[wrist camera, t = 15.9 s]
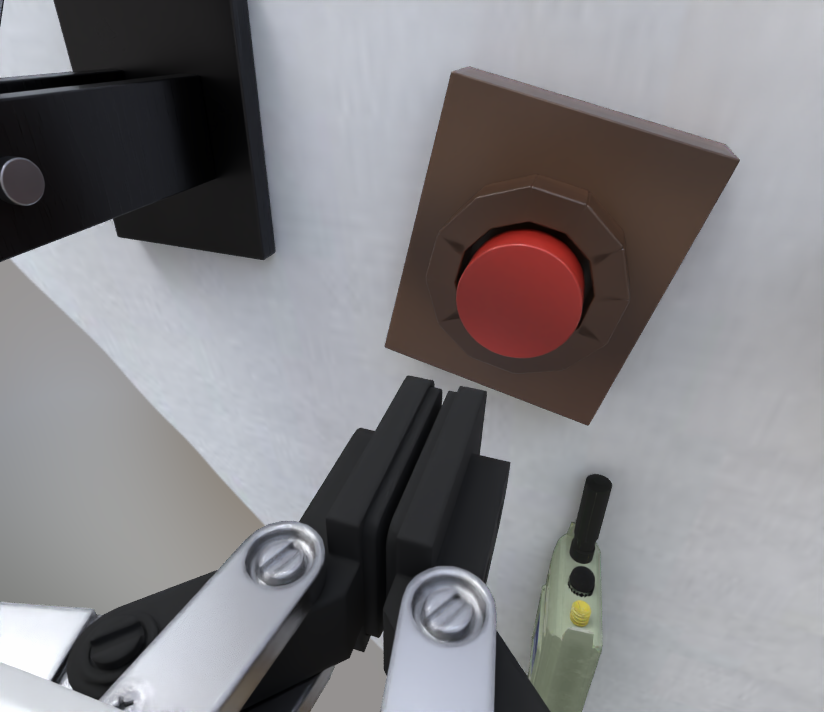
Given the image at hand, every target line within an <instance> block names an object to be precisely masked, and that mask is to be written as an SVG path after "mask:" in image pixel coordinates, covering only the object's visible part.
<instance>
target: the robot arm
mask: <svg viewBox="0 0 824 712" xmlns="http://www.w3.org/2000/svg"><path fill="white" fill-rule="evenodd" d="M486 397H487V392H486V391H484V390H478V389H473V388H468V387H463V386H460V387H459V389H458V391H457V392H453V391H448V393H447V395H446V398H445V400H444V402H443V405H442V389H438V388H434V381H433V380H428V379H423V378H418V377H413V376H407V377H406V378H405V380H404V382H403V383H402V385H401V387H400V388H399V390H398V392H397V394H396V395H395V397H394V399H393V401H392V402H391V404H390V406H389V408H388V409H387V411H386V413H385V415H384V416H383V418H382V420H381V422H380V423H379V425H378V427H377V429H376V430H375V431H372V430H368V429H363V428H359V429H357V430H356V432H355V433H354V434H353V436H352V437H351V439H350V441H349V442H348V444H347V445H346V447H345V449H344V450H343V452H342V453H341V455H340V457H339V458H338V460H337V461H336V463H335V465H334V466H333V468H332V470H331V471H330V473H329V474H328V476H327V478H326V479H325V481H324V482H323V484H322V486H321V487H320V489H319V490H318V492H317V494H316V495H315V497H314V498H313V500H312V502H311V503H310V505H309V507H308V508H307V510H306V511H305V513H304V515H303V516H302V518H301V519H300V521H299V522H296V521H280V522H276V523H272V524H268V525H266V526H264V527H262V528H260V529H258V530H256V531H255V532H254V533H253V534H252V535H250V536H249V537H248V538H247V539H246V540H245V541H244V542H243V543H242V544H241V545H240V546H239V548H238V549H237V550H236V551H235V552H234V553H233V554H232V555H231V556H230V557H229V558H228V559H227V560H226V562H225V563H224V564H223V565H222V566H221V567H220V568H219V569H218V570H216V571H213V572H211V573H208V574H206V575H203V576H200V577H197V578H195V579H192V580H190V581H187V582H184V583H182V584H179V585H176V586H174V587H171V588H168V589H166V590H164V591H160V592H158V593H155V594H153V595H150V596H147V597H145V598H142V599H140V600H137V601H134V602H132V603H129V604H126V605H123V606H121V607H118V608H116V609H114V610H112V611H110V612H108V613H106V614H104V615H97V614H96V612H95V610H94V609H91V608H77V607H64V606H51V605H38V604H23V603H10V602H0V712H310V711H311V709H312V708H313V706H314V704H315V702H316V701H317V699H318V698H319V696H320V694H321V693H322V691H323V689H324V687H325V686H326V684H327V682H328V681H329V679H330V677H331V674H332V672H333V670H334V666H335V665H336V664H338V663H340V662H342V661H344V660H346V659H348V658H350V655H351V653H352V651H353V649H356V650H359V651H362V652H364V651H365V649H366V646H367V644H368V641H369V639H370V636H374V637H377V638H379V637H380V636H381V634H382V632H383V638H384V671H385V673H386V675H387V679H386V685H385V690H384V695H383V700H382V706H381V711H380V712H551V711H550V710H549V708H548V707H547V705H546V704H545V702H544V701H543V699H542V698H541V696H540V695H539V693H538V692H537V690H536V689H535V687H534V686H533V684H532V683H531V681H530V680H529V678H528V677H527V675H526V674H525V672H524V671H523V669H522V668H521V666H520V665H519V663H518V662H517V660H516V659H515V657H514V656H513V654H512V653H511V651H510V650H509V648H508V647H507V645H506V644H505V642H504V641H503V639H502V638H501V636H500V635H499V633H498V632H497V630H496V623H497V613H496V605H495V600H494V598H493V596H492V594H491V592H490V590H489V588H488V587H487V586H486V582H487V578H488V573H489V569H490V564H491V560H492V555H493V551H494V547H495V542H496V538H497V533H498V529H499V524H500V519H501V515H502V510H503V504H504V499H505V494H506V488H507V482H508V476H509V470H510V462H507V461H503V460H498V459H494V458H490V457H485V456H481V455H480V447H481V439H482V430H483V422H484V414H485V406H486Z"/></svg>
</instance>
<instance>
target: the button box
mask: <svg viewBox="0 0 824 712" xmlns="http://www.w3.org/2000/svg"><path fill="white" fill-rule="evenodd" d="M739 161H740V160H739V158H738V157H737V156H736V155H735V154H734V153H733V152H732V151H731V150H730V149H729V147H728V146H727V145H726V144H722V143H719V142H716V141H713V140H709V139H706V138H703V137H699V136H696V135H693V134H690V133H686V132H683V131H680V130H676V129H673V128H670V127H667V126H663V125H660V124H657V123H654V122H650V121H647V120H644V119H640V118H637V117H634V116H631V115H627V114H624V113H621V112H617V111H614V110H611V109H608V108H604V107H601V106H598V105H594V104H591V103H588V102H585V101H581V100H578V99H575V98H571V97H568V96H565V95H562V94H558V93H555V92H552V91H548V90H545V89H542V88H539V87H535V86H532V85H529V84H525V83H522V82H519V81H516V80H512V79H509V78H506V77H502V76H499V75H496V74H493V73H489V72H486V71H483V70H479V69H476V68H473V67H466V68H462V69H459V70H455V71H452V72H451V75H450V79H449V83H448V88H447V92H446V96H445V100H444V104H443V108H442V112H441V116H440V120H439V125H438V129H437V133H436V137H435V141H434V145H433V149H432V153H431V157H430V162H429V166H428V170H427V174H426V178H425V182H424V186H423V190H422V195H421V199H420V203H419V207H418V211H417V215H416V219H415V223H414V227H413V232H412V236H411V240H410V244H409V248H408V252H407V256H406V260H405V264H404V269H403V273H402V277H401V281H400V285H399V289H398V293H397V297H396V301H395V306H394V310H393V314H392V318H391V322H390V326H389V330H388V334H387V338H386V343H385V348H388V349H391V350H393V351H396V352H398V353H401V354H404V355H406V356H409V357H411V358H414V359H416V360H419V361H422V362H424V363H427V364H429V365H432V366H435V367H437V368H440V369H442V370H445V371H448V372H450V373H453V374H455V375H458V376H461V377H463V378H466V379H468V380H471V381H474V382H476V383H479V384H481V385H484V386H486V387H489V388H492V389H494V390H497V391H499V392H502V393H505V394H507V395H510V396H512V397H515V398H518V399H520V400H523V401H525V402H528V403H531V404H533V405H536V406H538V407H541V408H543V409H546V410H549V411H551V412H554V413H556V414H559V415H562V416H564V417H567V418H569V419H572V420H575V421H577V422H580V423H582V424H585V425H589V424H590V422H591V421H592V419H593V417H594V415H595V414H596V412H597V410H598V408H599V407H600V405H601V403H602V401H603V400H604V398H605V396H606V394H607V393H608V391H609V389H610V387H611V386H612V384H613V382H614V380H615V379H616V377H617V375H618V373H619V372H620V370H621V368H622V366H623V365H624V363H625V361H626V359H627V358H628V356H629V354H630V352H631V351H632V349H633V347H634V345H635V344H636V342H637V340H638V338H639V336H640V335H641V333H642V331H643V329H644V328H645V326H646V324H647V322H648V321H649V319H650V317H651V315H652V314H653V312H654V310H655V308H656V307H657V305H658V303H659V301H660V300H661V298H662V296H663V294H664V293H665V291H666V289H667V287H668V286H669V284H670V282H671V280H672V279H673V277H674V275H675V273H676V272H677V270H678V268H679V266H680V265H681V263H682V261H683V259H684V258H685V256H686V254H687V252H688V251H689V249H690V247H691V245H692V244H693V242H694V240H695V238H696V237H697V235H698V233H699V231H700V230H701V228H702V226H703V224H704V223H705V221H706V219H707V217H708V216H709V214H710V212H711V210H712V209H713V207H714V205H715V203H716V202H717V200H718V198H719V196H720V195H721V193H722V191H723V189H724V188H725V186H726V184H727V182H728V181H729V179H730V177H731V175H732V174H733V172H734V170H735V168H736V167H737V165H738V163H739ZM514 229H534V230H539V231H542V232H546V233H548V234H551V235H553V236H554V237H556V238H558V239H560V240H561V241H562V242H564V243H565V244H566V245H567V246H568V247H569V248H570V249H571V250H572V251H573V253H574V254H575V255H576V257H577V258H578V260H579V262H580V264H581V267H582V270H583V274H584V280H585V290H584V299H583V307H582V313H581V318H580V321H579V323H578V326H577V327H576V329H575V331H574V333H573V334H572V335H571V336H570V338H569V339H568V340H567V341H566V342H565V343H564V344H562V345H561V346H560V347H558V348H557V349H555V350H553V351H551V352H549V353H547V354H544V355H541V356H537V357H532V358H512V357H507V356H503V355H500V354H497V353H494V352H492V351H490V350H488V349H487V348H485V347H483V346H482V345H481V344H479V343H478V342H477V341H476V340H475V339H474V338H473V337H472V336H471V335H470V334H469V333H468V332H467V330H466V328H465V327H464V325H463V323H462V321H461V319H460V316H459V313H458V310H457V304H456V293H457V287H458V283H459V280H460V278H461V275H462V274H463V272H464V270H465V268H466V267H467V265H468V264H469V262H470V260H471V259H472V257H473V256H474V254H475V253H476V251H477V250H478V249H479V248H480V247H481V246H482V245H483V244H484V243H485V242H486V241H487V240H489V239H490V238H492V237H494V236H495V235H497V234H500V233H502V232H505V231H509V230H514Z"/></svg>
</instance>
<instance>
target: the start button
mask: <svg viewBox="0 0 824 712" xmlns="http://www.w3.org/2000/svg"><path fill="white" fill-rule="evenodd" d="M584 290H585V280H584V274H583V270H582V267H581V264H580V262H579V260H578V258H577V257H576V255H575V254H574V253H573V251H572V250H571V249H570V248H569V247H568V246H567V245H566V244H565V243H564V242H562V241H561V240H560V239H558V238H556V237H554V236H553V235H551V234H548V233H546V232H542V231H539V230H534V229H514V230H509V231H505V232H502V233H500V234H497V235H495V236H494V237H492V238H490V239H489V240H487V241H486V242H485V243H484V244H483V245H482V246H481V247H480V248H479V249H478V250H477V251H476V253H475V254H474V256H473V257H472V259H471V260H470V262H469V264H468V265H467V267H466V268H465V270H464V272H463V274H462V275H461V278H460V280H459V283H458V287H457V293H456V304H457V310H458V313H459V316H460V319H461V321H462V323H463V325H464V327H465V328H466V330H467V332H468V333H469V334H470V335H471V336H472V337H473V338H474V339H475V340H476V341H477V342H478V343H479V344H481V345H482V346H483V347H485V348H487V349H488V350H490V351H492V352H494V353H497V354H500V355H503V356H507V357H512V358H532V357H537V356H541V355H544V354H547V353H549V352H551V351H553V350H555V349H557V348H558V347H560V346H561V345H562V344H564V343H565V342H566V341H567V340H568V339H569V338H570V336H571V335H572V334H573V333H574V331H575V329H576V327H577V326H578V323H579V321H580V318H581V313H582V307H583V299H584Z"/></svg>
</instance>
